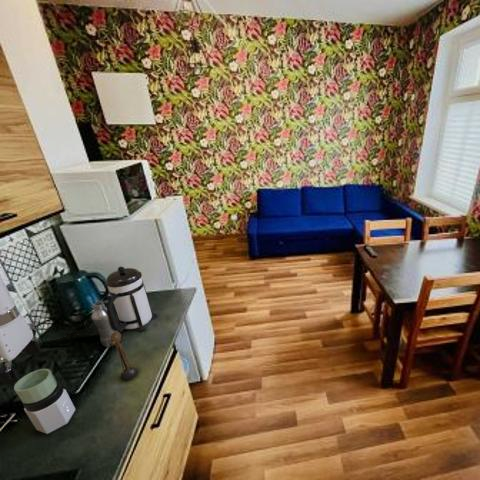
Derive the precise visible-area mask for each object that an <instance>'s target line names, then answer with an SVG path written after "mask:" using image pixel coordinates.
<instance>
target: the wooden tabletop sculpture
mask: <svg viewBox="0 0 480 480" xmlns="http://www.w3.org/2000/svg"><path fill="white" fill-rule="evenodd" d="M110 339H111V344H110V347H114V346H115V347H116V350H117V352H118V355H119V358H120V362H121V367H122V372H121V374H120V378H121V380H122V382H130V381H132V380H134V379H135V378H136V377H137V375H138V370H137V369H136V368H135V367H133V366H132V365H131V363H130V362H129V360H128V358H127V356H126V353H125V350H124V348H123V345H122V342H121V340H122V334H121V332H119V331H118V332H114V333H113V334H112V335H111V338H110ZM114 344H115V345H114Z"/></svg>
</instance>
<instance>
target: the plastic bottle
mask: <svg viewBox="0 0 480 480" xmlns="http://www.w3.org/2000/svg"><path fill="white" fill-rule="evenodd" d="M91 308H92V310H93V311H92V314H91V320H92V321H93V323H94V325H95V326H96V328H97V330H98V334H99V340H100V343H101V344H102V346H103V347H106V348H110V347H111V346H110V344H111V339H110V338H111V335H112V334H113V333H114V332H119V331H117V330H115V329H114V328H113V326H112V324H111V321H110V318H109V315H108V312H107V306H106V305H105V303H104V301H102V300H99V301H95V302H94V303H92V304H91ZM115 345H116V344H114V346H115Z"/></svg>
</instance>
